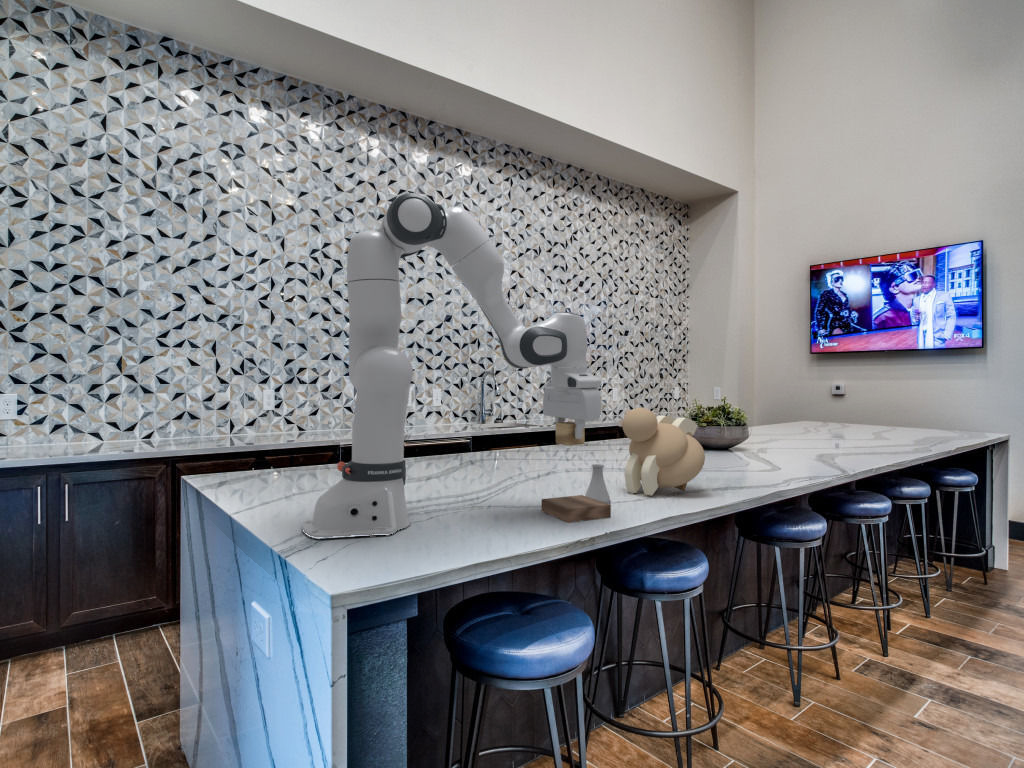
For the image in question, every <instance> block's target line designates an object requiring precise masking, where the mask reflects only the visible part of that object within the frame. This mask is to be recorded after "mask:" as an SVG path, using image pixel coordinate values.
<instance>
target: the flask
mask: <svg viewBox="0 0 1024 768" xmlns="http://www.w3.org/2000/svg"><path fill="white" fill-rule="evenodd" d="M604 466H605V465H604V464H603V463H602V464H601V463H593V464H591V467H592V474H591V479H590V482H589V485H588V488H587V490H586V493H585V495H584V496H586V497H589V498H592V499H595V500H598V501H601V502H604V503H607V504H610V503H611V501H612V500H611V498H610V495H609V493H608V489H607V486H606V483H605V479H604V478H605V477H604V473H603V471H604V470H603V468H604Z"/></svg>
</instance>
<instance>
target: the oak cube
mask: <svg viewBox="0 0 1024 768" xmlns="http://www.w3.org/2000/svg"><path fill="white" fill-rule="evenodd" d="M585 427H586V426H585ZM585 427H584V429H583V431H582V438H581V439H576V438H573V431H575V428H576V424H575V421H564V422H560V423H556V422H555V444H558V445H563V446H578V445H585V443H586V442H585V439H586V437H585V435H586V434H585Z"/></svg>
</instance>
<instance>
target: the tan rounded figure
mask: <svg viewBox="0 0 1024 768" xmlns="http://www.w3.org/2000/svg"><path fill="white" fill-rule="evenodd" d="M623 414H624V418H622V417H621V418H620V417H619V418H618V420H617V426H618V427H620V428H621V427H622V430H623V431H622V432H624V435H625V436H626V437H627V438H628V439H629V440H630V443H629V446H628V451H629V455H630V456H629V458H628V460H627V461H626V464H625V468H624V481H625V487H626V490H627V493H628V492H630V493H629V494H631V493H636V494H637V492H638V491H639V490H640V488H641V487H642V491H643V494H644V495H647V496H653V495H654V493H656V491H657V489H658V488H663V489H670V488H674V489H677V490H680V491H683V492H685V491H686V487H687V486H688V485H687V484H688V483H690V482H691V481H692V480H694V479H695V478H696V477H697V476H698V475H699V474H700V473H701V471H702V469H703V468H704V465H705V460H706V454H705V450H704V448H703V446H702V445H701V443H700V442H699V441H698V439H696V438H695V437H693V436H694V435H695V433H696V431H697V429H698V427H699V425H698V423H696V421H694V420H692V419H691V418H689V417H688V418H687V417H677V418H676V419H675V418H673V417H672V416H668V415H657V416H656V414H655V413H654V412H653V411H652V410H650V409H648V408H646V407H636V408H635V407H634V408H633V409H631V410H630V409H629V408H628V407H625V408H624V409H623Z"/></svg>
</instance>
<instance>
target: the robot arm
mask: <svg viewBox="0 0 1024 768" xmlns="http://www.w3.org/2000/svg"><path fill="white" fill-rule="evenodd" d="M425 247H430V248H433V249H434V250H436V251H437V252H439V253H440V254H441V256H442V257H444V259H445V260H446V262H447V264H448V265H449V266H450V268H451V270H452V271H453V272H454V274H455V275H456V277H457V278H458V280H460V281H461V284H462V285H464V287H465V288H466V289H467V291H468V292H469V294H470V295H471V296H472V298H473V299H474V300H475V302H476V303H477V304H478V306H479V308H480V309H481V311H482V313H483V315H484V316H485V317H486V320H487V321H488V322H489V324H490V325H491V327H492V328H493V330H494V332H495V334H496V336H497V338H498V340H499V343H500V348H501V354H502V356H503V358H504V360H505V361H506V362H507V364H509V365H510V366H511V367H513V368H514V369H515V368H516V369H522V370H525V369H529V368H535V367H536V368H537V367H543V366H546V365H549V364H550V379H549V380H548V381H547V383H546V385H545V388H544V391H543V397H542V398H543V399H542V413H543V415H544V416H545V417H546V416H547V417H554V422H555V424H556V423H560V422H566V419H570V420H574V422H575V424H576V428H575V431H573V438H576V439H581V438H582V431H583V429H584V427H586V425H587V423H586V422H593V421H599V419H600V417H601V414H602V398H601V391H600V390H599V388H601V385H602V381H601V379H600V378H599V377H597V376H595V375H594V374H592V373H590V372H589V370H588V369H589V368H588V367H589V366H588V362H587V353H588V332H587V325H586V321H585V319H584V317H582V316H581V315H580V314H578V313H575V312H570V311H569V312H568V311H556V312H554V313H553V314H552V315H551V316H550V317H549V318H546V319H545V320H542V321H541V322H538V323H536V324H533V325H531V326H527V327H526V326H524V324H522V323H521V322H520V321H519V319H518V317H517V316H516V315H515V313H514V311H513V309H512V308H511V306H510V305H509V303H508V301H507V300H506V298H505V296H504V292H503V289H502V288H503V286H502V284H503V278H504V272H505V264H504V262H503V259H502V256H501V255H500V252H499V250H498V249H497V246H496V245H495V243H494V242H493V241H492V240H491V238H490V237H489V235H488V234H487V232H486V231H485V230H484V228H483V227H482V226H481V225H480V224H479V222H478V221H477V220H476V219H475V218H474V217H473V216H472V214H470V213H469V212H468V211H467V209H465V208H463V207H461V206H451V207H448V208H447V207H446V208H445V209H444V208H443V207H442V206H441V205H439V204H437V203H435V202H434V201H432V200H430V199H429V198H428V197H426V196H424V195H422V194H419V193H416V192H407V193H403V194H401V195H399V196H397V197H396V198H395V199H393V201H391V203H390V204H389V206H388V208H387V210H386V212H384V215H383V218H382V221H381V223H380V227H379V228H378V229H375V230H372V229H369V230H368V229H367V230H362V231H360V232H358V233H356V234H354V235H353V236H352V237H351V238H350V240H349V244H348V250H347V259H346V260H347V262H346V281H347V282H346V283H347V284H346V285H347V286H346V287H347V298H348V300H347V301H348V314H349V320H348V321H349V325H348V327H349V328H348V331H349V332H348V333H349V334H348V377H349V380H350V383H351V385H352V386H353V388H355V390H356V401H355V409H354V416H353V420H352V421H353V422H352V424H351V426H352V429H351V431H352V432H351V436H352V438H351V442H352V443H351V460H350V461H348V462H347V463H346V462H344V461H339V462H338V463H337V464H336V469H337V470H338V471H339V472H340V473H341V478H342V479H341V480H339V481H338V482H337V483H336V484H334V485H333V486H332V487H330V488H329V489H328V490H327V491H326V492H324V493H323V494H321V495H320V496H319V497H318V499H317V500H316V503H315V506H314V510H313V515H312V516H313V517H312V518H311V519H307V520H305V521H304V522H303V524H302V525H301V526H302V527H301V529H302V528H303V530H304V532H305V533H307V534H308V535H310V536H314V537H333V536H351V535H372V534H373V535H374V534H392V533H394V532H396V531H397V530H398V531H400V529H401V530H403V528H404V529H405V528H408V527H409V526H410V525H411V521H410V517H409V514H408V508H407V503H406V502H407V501H406V496H405V495H406V493H405V485H406V480H407V467H406V460H405V459H404V456H405V455H404V453H405V452H404V451H405V447H404V445H405V423H406V422H405V421H406V415H407V410H408V409H407V408H408V404H409V396H410V391H411V390H410V388H411V382H412V379H413V375H414V373H413V372H414V370H413V365H412V363H411V360H410V359H409V358H408V357H407V355H406V354H405V353H404V352H403V351H402V350H400V349H399V339H400V329H401V323H402V304H401V303H402V302H401V286H400V273H399V272H400V271H399V265H400V259H403V258H407V257H410V256H413V255H416V254H417V253H419V252H420V251H421V250H422V249H424V248H425ZM398 531H397V532H398ZM397 532H396V533H397ZM394 534H395V533H394ZM392 535H393V534H392Z"/></svg>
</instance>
